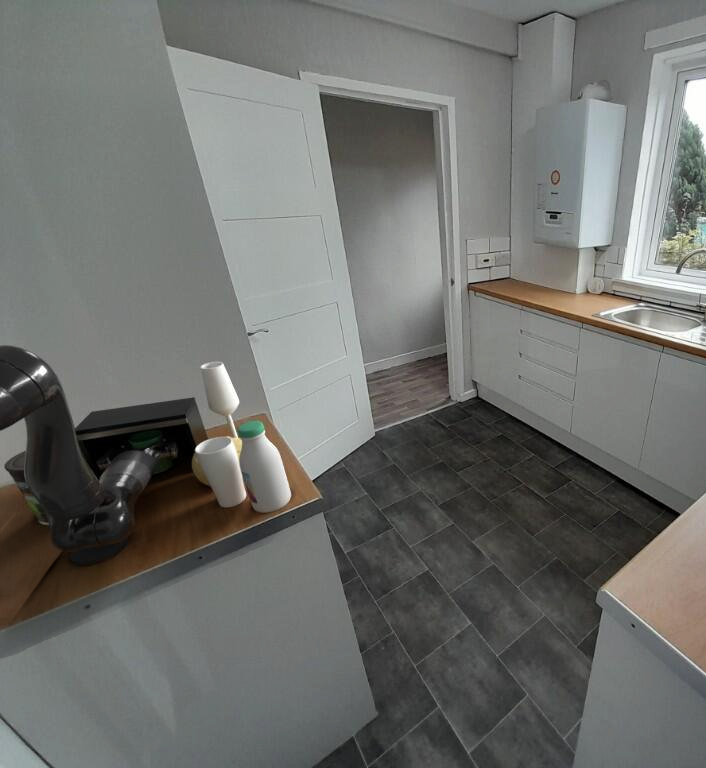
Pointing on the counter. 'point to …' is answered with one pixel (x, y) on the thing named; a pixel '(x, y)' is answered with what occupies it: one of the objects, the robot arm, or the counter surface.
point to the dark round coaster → (97, 553)
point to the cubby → (140, 427)
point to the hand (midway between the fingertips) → (151, 438)
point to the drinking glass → (222, 470)
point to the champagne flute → (220, 392)
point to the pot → (145, 440)
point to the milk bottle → (262, 469)
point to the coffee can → (25, 485)
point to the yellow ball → (197, 468)
